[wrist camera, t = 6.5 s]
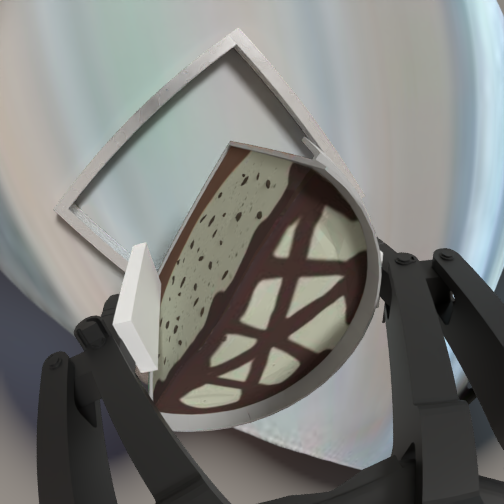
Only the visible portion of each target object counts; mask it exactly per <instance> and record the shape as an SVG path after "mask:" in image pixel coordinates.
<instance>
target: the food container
mask: <svg viewBox="0 0 504 504" xmlns="http://www.w3.org/2000/svg"><path fill="white" fill-rule="evenodd" d="M302 142H303V143H304V144H305V145H306V146H307V147H308V148H309V150H310V151H311V152H312V153H313V154H314V155H315V156H314V157H313V159H309V158H305V157H301V156H297V155H293V154H289V153H285V152H281V151H276V150H272V149H267V148H263V147H258V146H253V145H248V144H243V143H238V142H233V141H230V142H229V144H228V145H227V147H226V149H225V150H224V152H223V154H222V155H221V157H220V159H219V160H218V162H217V164H216V165H215V167H214V169H213V170H212V172H211V174H210V176H209V177H208V179H207V181H206V182H205V184H204V186H203V188H202V189H201V191H200V193H199V195H198V196H197V198H196V200H195V202H194V204H193V205H192V207H191V209H190V211H189V213H188V215H187V216H186V218H185V220H184V222H183V224H182V226H181V227H180V229H179V231H178V233H177V235H176V237H175V239H174V241H173V243H172V244H171V246H170V248H169V250H168V252H167V254H166V256H165V258H164V260H163V262H162V264H161V266H160V268H159V270H158V272H157V274H158V276H159V279H160V281H161V298H160V316H159V342H158V370H155V371H150V372H149V387H148V389H149V390H148V391H149V392H148V394H149V396H150V398H151V399H152V401H153V402H154V404H155V405H156V407H157V408H158V410H159V412H160V413H161V415H162V416H163V418H164V419H165V421H166V422H167V423H168V425H169V426H170V428H171V429H172V431H182V432H194V431H211V430H218V429H224V428H231V427H235V426H239V425H243V424H247V423H251V422H254V421H256V420H259V419H262V418H265V417H268V416H270V415H273V414H275V413H277V412H279V411H281V410H283V409H285V408H287V407H289V406H291V405H293V404H295V403H296V402H298V401H300V400H301V399H303V398H305V397H306V396H308V395H309V394H310V393H312V392H313V391H315V390H316V389H317V388H319V387H320V386H321V385H322V384H324V383H325V382H326V381H327V380H328V379H329V378H330V377H331V376H332V375H333V374H335V373H336V372H337V371H338V370H339V369H340V368H341V366H342V365H343V364H344V363H345V362H346V361H347V359H348V358H349V357H350V356H351V355H352V353H353V352H354V350H355V349H356V347H357V346H358V344H359V343H360V341H361V340H362V338H363V336H364V335H365V332H366V330H367V328H368V326H369V324H370V322H371V320H372V318H373V315H374V311H375V308H376V305H377V301H378V298H379V292H380V284H381V276H382V274H381V253H380V249H379V245H378V241H377V237H376V233H375V230H374V227H373V225H372V222H371V218H370V216H369V214H368V212H367V210H366V207H365V205H364V203H363V201H362V199H361V197H360V195H359V194H358V192H357V191H356V189H355V188H354V187H353V185H352V184H351V183H350V181H349V180H348V179H347V178H346V176H345V175H344V174H343V172H342V171H341V170H340V169H339V168H338V167H337V166H336V165H335V164H334V163H333V162H332V160H331V159H330V158H329V157H328V156H327V155H326V154H325V153H324V152H323V151H321V150H320V149H319V148H318V147H317V146H316V145H314V144H313V143H312V142H311V141H310V140H308V139H307V138H306V137H305V136H304V138H303V139H302Z"/></svg>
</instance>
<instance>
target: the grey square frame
mask: <svg viewBox="0 0 504 504" xmlns="http://www.w3.org/2000/svg"><path fill="white" fill-rule="evenodd" d="M232 48H234V49H235V50H236V51H237V52H238V53H239V54H240V55H241V56H242V58H243V59H244V60H245V61H246V62H247V63H248V64H249V65H250V67H251V68H252V69H253V70H254V71H255V72H256V73H257V75H258V76H259V77H260V78H261V79H262V80H263V82H264V83H265V84H266V85H267V86H268V88H269V89H270V90H271V91H272V92H273V94H274V95H275V96H276V97H277V98H278V100H279V101H280V102H281V103H282V105H283V106H284V107H285V108H286V110H287V111H288V112H289V113H290V115H291V116H292V117H293V119H294V120H295V121H296V123H297V124H298V125H299V126H300V128H301V129H302V130H303V132H304V133H305V134H306V136H307V137H308V138H309V140H310V141H311V142H312V143H313V144H314V145H316V146H317V147H318V148H319V149H320V150H321V151H323V152H324V153H325V154H326V155H327V156H328V157H329V158H330V159H331V160H332V162H333V163H334V164H335V165H336V166H337V167H338V168H339V169H340V170H341V171H342V172H343V174H344V175H345V176H346V178H347V179H348V180H349V181H350V183H351V184H352V185H353V187H354V188H355V189H356V191H357V192H358V194H359V195H360V197H361V199H362V198H363V197H364V196H365V195H364V193H363V191H362V190H361V188H360V186H359V185H358V183H357V182H356V180H355V178H354V177H353V175H352V174H351V172H350V171H349V169H348V167H347V166H346V164H345V163H344V161H343V160H342V158H341V157H340V155H339V154H338V152H337V151H336V149H335V148H334V146H333V145H332V143H331V142H330V140H329V139H328V138H327V136H326V135H325V133H324V132H323V130H322V129H321V128H320V126H319V125H318V123H317V122H316V121H315V119H314V118H313V117H312V115H311V114H310V113H309V111H308V110H307V109H306V107H305V106H304V105H303V103H302V102H301V101H300V99H299V98H298V97H297V95H296V94H295V93H294V92H293V90H292V89H291V88H290V86H289V85H288V84H287V83H286V81H285V80H284V79H283V78H282V77H281V75H280V74H279V73H278V72H277V70H276V69H275V68H274V67H273V66H272V65H271V63H270V62H269V61H268V60H267V59H266V57H265V56H264V55H263V54H262V53H261V52H260V51H259V49H258V48H257V47H256V46H255V45H254V44H253V43H252V42H251V41H250V39H249V38H248V37H247V36H246V35H245V34H244V33H243V32H242V31H241V30H240V29H239V28H237V29H236V30H234V31H233V32H231V33H230V34H228V35H227V36H226V37H224V38H223V39H222V40H220V41H219V42H217V43H216V44H215V45H213V46H212V47H211V48H209V49H208V50H207V51H205V52H204V53H203V54H202V55H200V56H199V57H198V58H197V59H195V60H194V61H193V62H192V63H190V64H189V65H188V66H187V67H185V68H184V69H183V70H182V71H181V72H179V73H178V74H177V75H176V76H175V77H174V78H172V79H171V80H170V81H169V82H168V83H167V84H166V85H164V86H163V87H162V88H161V89H160V90H159V91H158V92H157V93H156V94H155V95H154V96H152V97H151V98H150V99H149V100H148V101H147V102H146V103H145V104H144V105H143V106H142V107H141V108H140V109H139V110H138V111H137V112H136V113H135V114H134V115H133V116H132V117H131V118H130V119H129V120H128V121H127V122H126V123H125V124H124V125H123V126H122V127H121V128H120V129H119V130H118V131H117V132H116V133H115V135H114V136H113V137H112V138H111V139H110V140H109V141H108V142H107V143H106V144H105V146H104V147H103V148H102V149H101V150H100V151H99V152H98V153H97V155H96V156H95V157H94V158H93V159H92V160H91V162H90V163H89V164H88V165H87V166H86V168H85V169H84V170H83V171H82V173H81V174H80V175H79V176H78V178H77V179H76V180H75V181H74V183H73V184H72V185H71V186H70V188H69V189H68V190H67V192H66V193H65V194H64V196H63V197H62V198H61V200H60V201H59V202H58V204H57V205H56V207H55V208H54V209H53V210H54V211H55V212H56V213H57V214H58V215H60V216H61V217H62V218H63V219H64V220H65V221H66V222H67V223H68V224H69V225H70V226H72V227H73V228H74V229H75V230H76V231H77V232H78V233H79V234H81V235H82V236H83V237H84V238H85V239H86V240H87V241H88V242H90V243H91V244H92V245H93V246H94V247H95V248H97V249H98V250H99V251H100V252H101V253H102V254H104V255H105V256H106V257H107V258H108V259H110V260H111V261H112V262H113V263H114V264H116V265H117V266H118V267H119V268H121V269H122V270H123V271H124V272H126V269H127V265H128V262H129V258H130V255H131V253H129V252H128V251H127V250H126V249H125V248H124V247H122V246H121V245H120V244H119V243H118V242H117V241H115V240H114V239H113V238H112V237H111V236H110V235H109V234H107V233H106V232H105V231H104V230H103V229H102V228H101V227H99V226H98V225H97V224H96V223H95V222H94V221H93V220H92V219H91V218H89V217H88V216H87V215H86V214H85V213H84V212H83V211H82V210H81V209H80V208H79V207H77V206H76V205H75V204H74V202H75V201H76V199H77V198H78V197H79V196H80V194H81V193H82V192H83V191H84V189H85V188H86V187H87V186H88V184H89V183H90V182H91V181H92V180H93V178H94V177H95V176H96V175H97V174H98V173H99V171H100V170H101V169H102V168H103V167H104V166H105V164H106V163H107V162H108V161H109V160H110V159H111V158H112V157H113V156H114V154H115V153H116V152H117V151H118V150H119V149H120V148H121V147H122V146H123V145H124V144H125V143H126V142H127V141H128V139H129V138H130V137H131V136H132V135H133V134H134V133H135V132H136V131H137V130H138V129H139V128H140V127H141V126H142V125H143V124H144V123H145V122H146V121H147V120H148V119H149V118H150V117H151V116H152V115H154V114H155V113H156V112H157V111H158V110H159V109H160V108H161V107H162V106H163V105H164V104H165V103H166V102H167V101H169V100H170V99H171V98H172V97H173V96H174V95H175V94H176V93H178V92H179V91H180V90H181V89H182V88H183V87H184V86H186V85H187V84H188V83H189V82H190V81H191V80H193V79H194V78H195V77H196V76H197V75H199V74H200V73H201V72H202V71H204V70H205V69H206V68H207V67H209V66H210V65H211V64H212V63H214V62H215V61H216V60H218V59H219V58H220V57H222V56H223V55H224V54H226V53H227V52H228V51H230V50H231V49H232Z"/></svg>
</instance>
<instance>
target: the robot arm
mask: <svg viewBox="0 0 504 504" xmlns="http://www.w3.org/2000/svg"><path fill="white" fill-rule="evenodd" d="M376 237H377V236H376ZM377 241H378V245H379V249H380V253H381V274H382V276H381V284H380V292H379V298H378V301H377V305H376V308H378V307H379V299H380V297H381V298H382V299H383V300H384V301H385V306H384V314H383V321H382V323H385V321H386V329H387V338H388V348H389V358H390V370H391V384H392V403H393V449H392V454H391V457H389V458H387V459H385V460H383V461H381V462H379V463H376V464H374V465H372V466H370V467H368V468H365V469H363V470H362V471H360V472H359V473H358V474H356V475H355V476H353V477H352V478H350V479H349V480H348V481H346V482H345V483H343V484H342V485H340V486H339V487H337V488H336V489H334V490H332V491H329V492H324V493H315V494H304V495H291V496H286V497H283V498H279V499H275V500H271V501H267V502H263V503H259V504H504V482H503V481H499V480H495V479H491V478H487V477H483V476H480V475H478V465H477V455H476V447H475V439H474V432H473V426H472V420H471V414H470V409H469V406H468V403H467V402H466V401H465V400H460V399H459V398H458V395H457V390H456V385H455V380H454V376H453V371H452V367H451V363H450V359H449V354H448V351H447V347H446V343H445V339H446V340H447V342H448V344H449V346H450V347H451V349H452V351H453V353H454V354H455V356H456V358H457V360H458V361H459V363H460V365H461V367H462V369H463V371H464V373H465V374H466V376H467V378H468V380H469V382H470V384H471V386H472V388H473V390H474V392H475V394H476V396H477V398H478V400H479V402H480V404H481V406H482V408H483V410H484V412H485V414H486V417H487V419H488V421H489V423H490V426H491V428H492V430H493V432H494V434H495V436H496V438H497V440H498V442H499V443H500V445H501V447H502V448H503V450H504V303H503V302H502V301H501V300H500V299H499V298H498V296H497V295H496V294H495V293H494V292H493V291H492V289H491V288H490V287H489V286H488V285H487V284H486V283H485V281H484V280H483V279H482V278H481V277H480V276H479V275H478V274H477V273H476V272H475V271H474V269H473V268H472V267H471V266H470V265H469V264H468V263H467V262H466V261H465V260H464V259H463V258H462V257H461V256H460V255H459V254H458V253H457V252H455V251H453V250H451V249H447V248H443V249H438V250H436V251H435V252H434V254H433V260H426V261H419V260H418V259H417V258H416V257H415V256H414V255H412V254H409V253H402V252H401V253H397V252H395V251H394V250H393V249H392V248H390V247H389V246H388V245H387V244H385V243H383V241H382V240H380V239H378V237H377ZM453 294H454V297H453ZM160 298H161V281H160V279H159V276H158V274H157V271H156V268H155V265H154V263H153V260H152V257H151V254H150V252H149V249H148V246H147V243H146V242H145V243H141V244H137V245H134V246H133V248H132V251H131V255H130V258H129V262H128V265H127V269H126V272H125V276H124V280H123V284H122V287H121V291H120V294H116V295H112V296H110V297H109V299H108V300H107V301H106V302H105V305H104V308H103V312H102V315H101V317H100V316H90V317H88V318H85V319H84V320H82V321H81V322H80V323H79V324H78V325H77V326H76V328H75V330H74V336H75V337H76V339H77V340H78V342H79V343H80V345H81V346H82V348H83V350H84V352H82V353H80V354H79V355H76V356H74V357H72V358H69V356H68V355H67V354H66V353H65V352H56V353H54V354H51V355H50V356H49V357H48V358H47V359H46V360H45V362H44V364H43V367H42V375H41V383H40V394H39V405H38V420H37V477H38V493H39V504H117V500H116V496H115V492H114V488H113V483H112V478H111V473H110V468H109V463H108V458H107V452H106V446H105V439H104V432H103V426H102V417H101V408H100V399H101V398H102V399H103V401H104V404H105V406H106V408H107V410H108V413H109V415H110V417H111V419H112V422H113V424H114V426H115V428H116V430H117V432H118V434H119V436H120V438H121V440H122V442H123V444H124V446H125V448H126V450H127V452H128V454H129V456H130V458H131V459H132V461H133V463H134V465H135V467H136V468H137V470H138V472H139V474H140V475H141V477H142V479H143V480H144V482H145V484H146V485H147V487H148V489H149V490H150V492H151V493H152V495H153V497H154V499H155V501H156V504H231V503H230V502H229V501H228V500H227V499H226V498H225V497H224V495H223V494H222V493H221V492H220V491H219V490H218V489H217V487H216V486H215V485H214V484H213V483H212V482H211V480H210V479H209V478H208V477H207V475H206V474H205V473H204V472H203V471H202V469H201V468H200V467H199V466H198V464H197V463H196V462H195V461H194V459H193V458H192V457H191V455H190V454H189V453H188V452H187V450H186V449H185V447H184V446H183V445H182V443H181V442H180V440H179V439H178V438H177V436H176V435H175V434H174V432H173V431H172V429H171V428H170V426H169V425H168V423H167V422H166V421H165V419H164V418H163V416H162V415H161V413H160V412H159V410H158V408H157V407H156V405H155V404H154V402H153V401H152V399H151V398H150V396H149V394H148V393H147V391H146V390H145V388H144V386H143V385H142V383H141V381H140V380H139V378H138V376H137V375H136V373H135V367H136V366H137V367H138V369H139V371H140V372H141V373H144V372H150V371H155V370H158V342H159V316H160ZM454 298H455V299H454ZM443 335H444V336H443ZM444 337H445V339H444Z"/></svg>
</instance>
